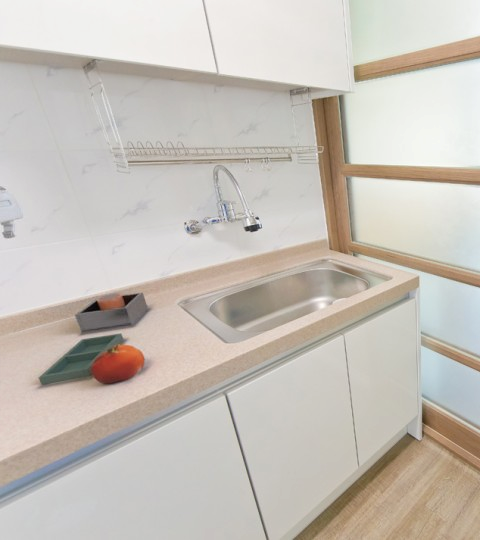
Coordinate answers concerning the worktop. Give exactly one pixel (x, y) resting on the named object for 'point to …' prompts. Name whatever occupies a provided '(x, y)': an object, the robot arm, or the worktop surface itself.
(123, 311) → the basin
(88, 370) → the tray
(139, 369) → the tomato
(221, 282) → the worktop surface
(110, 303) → the cup
